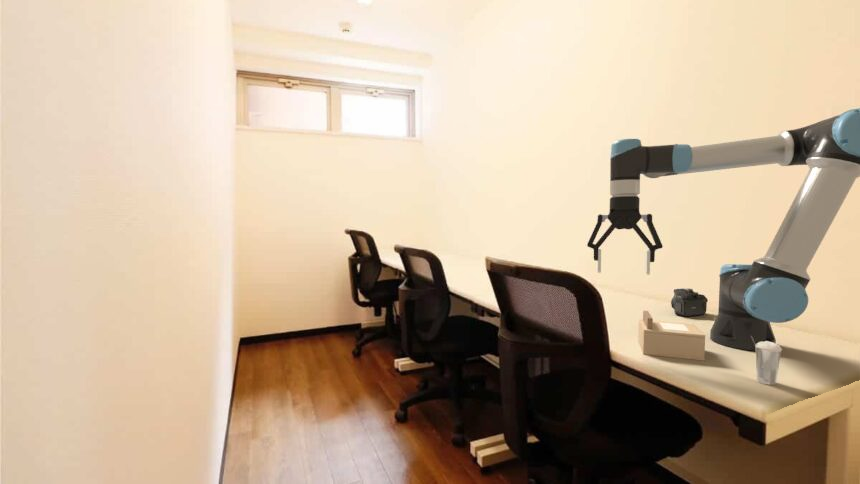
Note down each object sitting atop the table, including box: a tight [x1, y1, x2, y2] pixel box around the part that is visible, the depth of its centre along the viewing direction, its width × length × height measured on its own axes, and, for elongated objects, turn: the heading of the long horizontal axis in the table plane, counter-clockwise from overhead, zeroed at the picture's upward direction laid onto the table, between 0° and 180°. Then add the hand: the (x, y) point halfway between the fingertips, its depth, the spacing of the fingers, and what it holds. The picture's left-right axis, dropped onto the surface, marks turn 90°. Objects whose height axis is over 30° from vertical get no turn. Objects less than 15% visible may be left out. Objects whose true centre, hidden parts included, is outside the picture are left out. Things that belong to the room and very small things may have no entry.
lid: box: [638, 310, 706, 338], centre depth 111 cm, size 14×11×4 cm
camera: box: [670, 288, 709, 317], centre depth 150 cm, size 13×10×10 cm
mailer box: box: [637, 322, 706, 361], centre depth 111 cm, size 14×11×6 cm
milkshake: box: [751, 336, 783, 386], centre depth 90 cm, size 4×5×10 cm
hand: (622, 272), depth 114 cm, fingers open, 12 cm apart
